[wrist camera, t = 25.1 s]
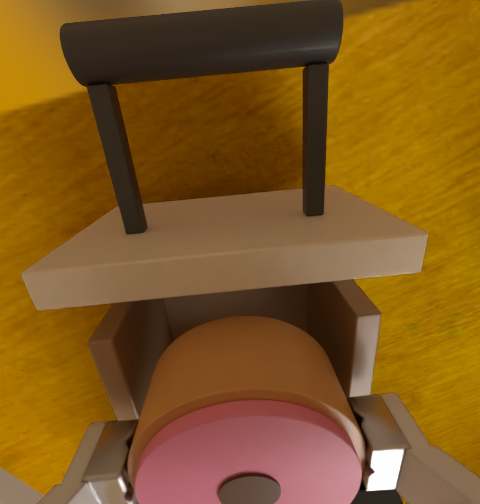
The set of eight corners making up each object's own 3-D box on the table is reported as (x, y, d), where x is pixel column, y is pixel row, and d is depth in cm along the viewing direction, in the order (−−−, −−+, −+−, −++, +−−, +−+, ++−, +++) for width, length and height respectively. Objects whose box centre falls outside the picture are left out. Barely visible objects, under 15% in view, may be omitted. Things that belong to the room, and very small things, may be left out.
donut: (132, 325, 9) (84, 423, 6) (337, 305, 9) (391, 394, 6) (171, 452, 11) (151, 564, 8) (328, 437, 11) (363, 543, 8)
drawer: (78, 66, 11) (-116, -17, 5) (341, 41, 11) (489, -73, 5) (169, 403, 19) (140, 540, 13) (325, 387, 19) (374, 515, 13)
